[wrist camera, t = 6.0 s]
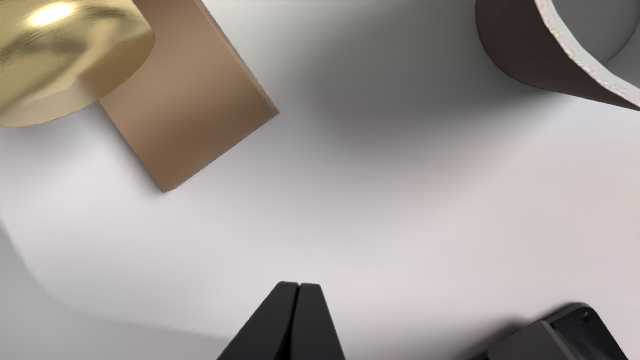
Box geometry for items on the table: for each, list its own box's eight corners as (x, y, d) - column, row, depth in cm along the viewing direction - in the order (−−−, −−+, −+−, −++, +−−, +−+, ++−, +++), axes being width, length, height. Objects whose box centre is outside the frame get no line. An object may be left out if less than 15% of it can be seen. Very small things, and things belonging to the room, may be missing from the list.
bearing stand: (279, 112, 20) (169, 116, 10) (175, 188, 21) (-19, 263, 11) (101, -144, 19) (-214, -424, 9) (5, -51, 21) (-370, -208, 10)
